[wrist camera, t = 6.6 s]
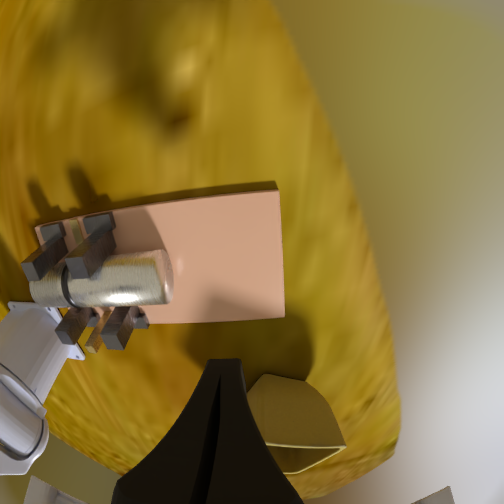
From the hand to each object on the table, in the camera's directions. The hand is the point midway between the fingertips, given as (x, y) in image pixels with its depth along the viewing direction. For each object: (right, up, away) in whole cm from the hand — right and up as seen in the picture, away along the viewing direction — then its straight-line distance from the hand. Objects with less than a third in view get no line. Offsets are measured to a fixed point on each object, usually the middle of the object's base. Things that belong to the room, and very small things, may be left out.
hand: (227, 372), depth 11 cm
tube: (-10, +3, +8) cm, 14 cm away
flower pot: (+4, -9, +16) cm, 19 cm away
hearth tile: (-7, +4, +8) cm, 12 cm away
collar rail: (-12, +4, +9) cm, 15 cm away
